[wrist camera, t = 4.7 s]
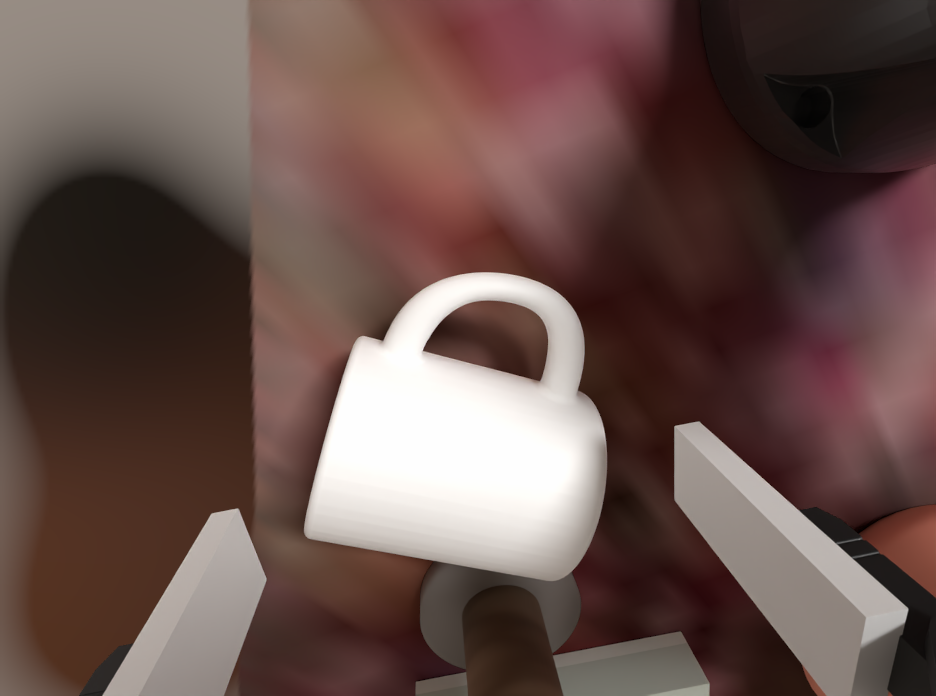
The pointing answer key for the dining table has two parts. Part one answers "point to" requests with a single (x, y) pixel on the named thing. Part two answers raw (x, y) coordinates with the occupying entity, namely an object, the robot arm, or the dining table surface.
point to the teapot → (904, 549)
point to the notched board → (612, 671)
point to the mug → (464, 444)
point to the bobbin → (498, 627)
